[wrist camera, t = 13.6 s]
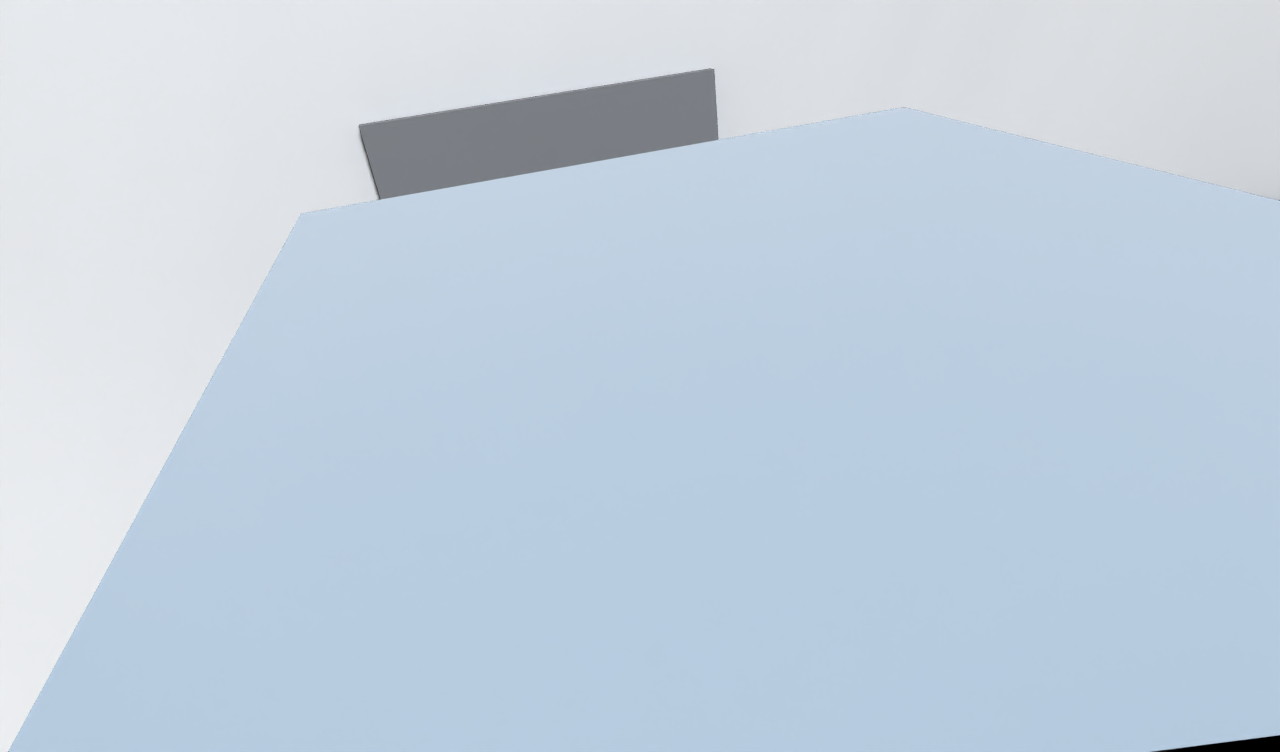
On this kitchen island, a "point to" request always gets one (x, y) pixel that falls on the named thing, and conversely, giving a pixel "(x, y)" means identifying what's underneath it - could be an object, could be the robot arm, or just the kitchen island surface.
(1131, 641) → the light blue block
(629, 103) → the grey rectangular panel
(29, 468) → the kitchen island surface
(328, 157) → the kitchen island surface
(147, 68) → the kitchen island surface
